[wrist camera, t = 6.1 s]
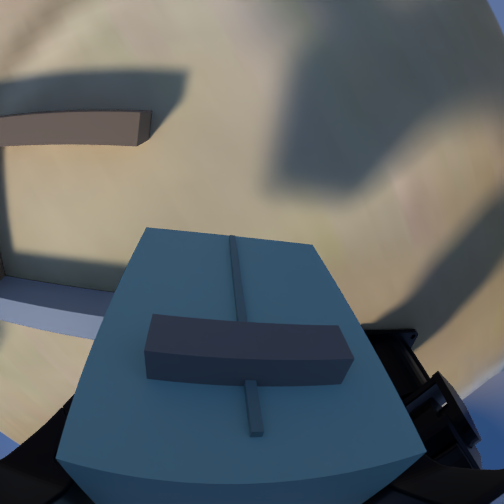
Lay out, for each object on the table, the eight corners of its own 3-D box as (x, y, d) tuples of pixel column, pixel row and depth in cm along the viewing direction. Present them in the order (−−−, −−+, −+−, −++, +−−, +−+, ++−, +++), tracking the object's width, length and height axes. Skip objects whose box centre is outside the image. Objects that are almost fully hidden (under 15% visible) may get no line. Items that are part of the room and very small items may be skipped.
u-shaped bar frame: (307, 131, 15) (323, 136, 13) (263, 329, 21) (268, 355, 19) (-30, 120, 11) (-55, 127, 9) (-7, 294, 17) (-22, 313, 15)
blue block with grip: (317, 226, 9) (448, 428, 3) (268, 390, 12) (297, 541, 6) (147, 207, 8) (37, 434, 2) (151, 383, 12) (136, 540, 5)
